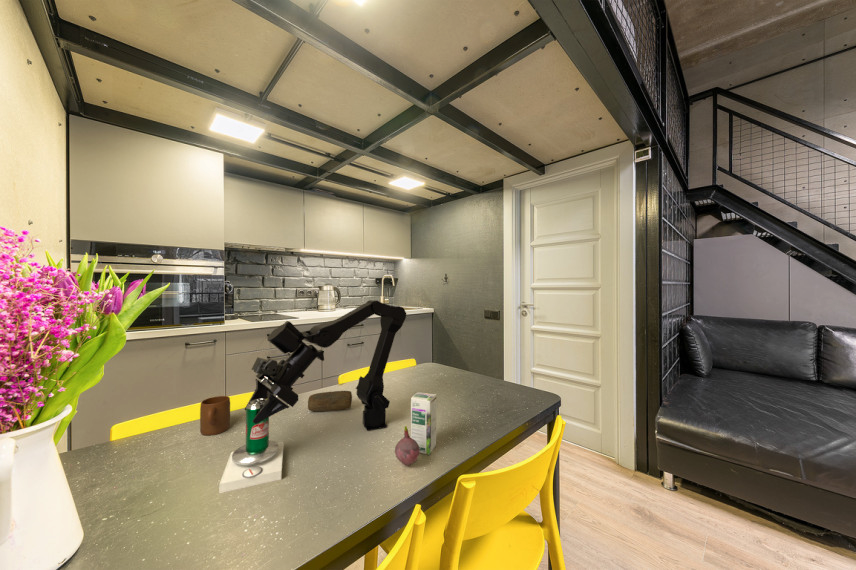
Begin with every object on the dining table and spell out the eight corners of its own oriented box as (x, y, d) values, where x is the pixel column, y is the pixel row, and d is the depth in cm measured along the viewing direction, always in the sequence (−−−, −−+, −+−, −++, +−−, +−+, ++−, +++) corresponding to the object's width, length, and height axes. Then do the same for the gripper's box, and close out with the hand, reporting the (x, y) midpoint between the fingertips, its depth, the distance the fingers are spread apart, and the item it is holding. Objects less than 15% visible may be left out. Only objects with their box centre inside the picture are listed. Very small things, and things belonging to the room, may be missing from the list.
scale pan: (279, 443, 82) (279, 437, 82) (277, 463, 73) (277, 456, 73) (235, 451, 78) (235, 444, 78) (228, 473, 69) (228, 465, 69)
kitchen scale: (283, 449, 83) (283, 440, 83) (281, 479, 70) (281, 469, 70) (231, 459, 78) (231, 450, 78) (219, 494, 65) (219, 482, 65)
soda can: (250, 457, 72) (250, 407, 72) (242, 450, 75) (242, 401, 75) (272, 449, 76) (272, 401, 76) (263, 442, 79) (264, 396, 79)
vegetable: (396, 458, 79) (396, 419, 79) (420, 459, 79) (420, 420, 79) (393, 472, 73) (393, 431, 73) (418, 473, 72) (419, 431, 73)
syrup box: (409, 451, 82) (410, 397, 82) (418, 441, 88) (418, 390, 88) (429, 455, 80) (429, 400, 80) (436, 444, 86) (437, 393, 86)
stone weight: (351, 404, 115) (352, 386, 115) (351, 411, 108) (351, 393, 108) (309, 408, 112) (310, 389, 112) (307, 416, 105) (307, 396, 105)
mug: (225, 439, 88) (225, 407, 88) (193, 445, 85) (193, 411, 85) (231, 423, 99) (232, 394, 99) (203, 427, 96) (203, 397, 96)
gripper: (264, 340, 85) (217, 388, 78) (284, 351, 71) (228, 411, 64) (294, 364, 90) (251, 411, 83) (317, 378, 76) (269, 436, 69)
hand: (249, 416), depth 75 cm, fingers open, 9 cm apart
